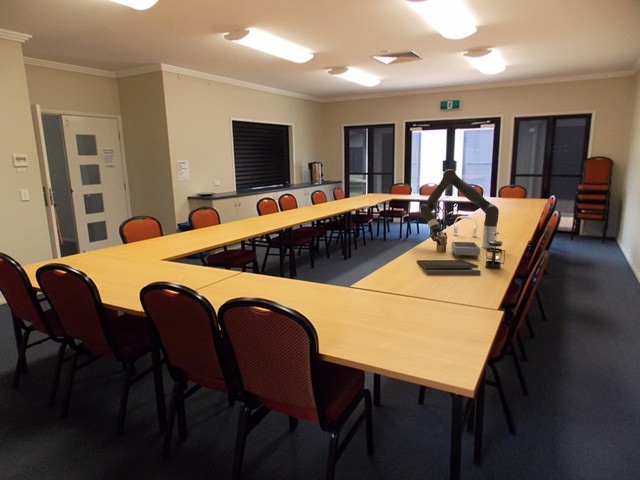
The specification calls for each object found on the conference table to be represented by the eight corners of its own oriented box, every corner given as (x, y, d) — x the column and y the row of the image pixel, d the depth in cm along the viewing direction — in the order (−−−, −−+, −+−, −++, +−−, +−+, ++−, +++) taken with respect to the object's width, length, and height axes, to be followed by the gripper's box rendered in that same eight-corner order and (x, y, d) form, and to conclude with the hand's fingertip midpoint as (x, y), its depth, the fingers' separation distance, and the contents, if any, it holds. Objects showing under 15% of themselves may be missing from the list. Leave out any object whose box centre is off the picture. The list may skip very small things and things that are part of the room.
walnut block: (441, 250, 311) (442, 234, 308) (445, 251, 306) (446, 235, 304) (436, 250, 309) (437, 235, 307) (440, 252, 305) (441, 236, 302)
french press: (483, 268, 262) (486, 233, 257) (484, 264, 270) (487, 230, 265) (503, 270, 257) (506, 234, 252) (503, 266, 265) (507, 231, 261)
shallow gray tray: (473, 252, 302) (474, 242, 300) (479, 259, 283) (480, 248, 281) (451, 252, 305) (451, 241, 303) (455, 258, 285) (456, 247, 284)
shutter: (416, 270, 279) (428, 278, 248) (416, 260, 278) (428, 266, 247) (463, 267, 278) (481, 275, 247) (463, 257, 278) (481, 264, 247)
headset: (452, 235, 365) (453, 215, 361) (453, 234, 371) (455, 214, 368) (476, 237, 357) (477, 217, 353) (477, 235, 363) (478, 216, 359)
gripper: (428, 224, 308) (437, 243, 299) (444, 223, 313) (453, 241, 304) (424, 230, 314) (432, 248, 305) (439, 228, 319) (448, 246, 310)
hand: (443, 244), depth 305 cm, fingers closed on walnut block, 5 cm apart
